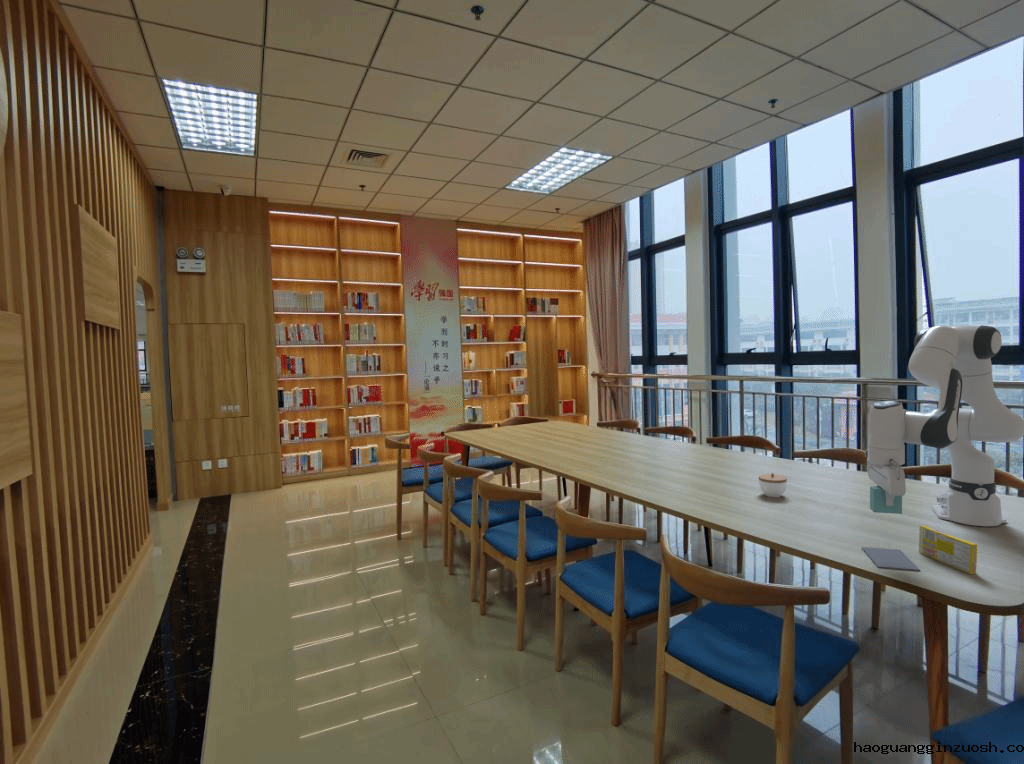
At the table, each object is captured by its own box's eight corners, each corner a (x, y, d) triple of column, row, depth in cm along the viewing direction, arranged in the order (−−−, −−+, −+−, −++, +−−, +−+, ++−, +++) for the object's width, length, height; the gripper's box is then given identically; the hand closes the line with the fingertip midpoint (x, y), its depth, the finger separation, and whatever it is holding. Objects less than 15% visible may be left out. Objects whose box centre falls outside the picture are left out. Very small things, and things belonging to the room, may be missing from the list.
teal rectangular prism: (869, 508, 157) (870, 485, 157) (897, 510, 155) (897, 487, 155) (873, 512, 154) (873, 488, 154) (901, 513, 152) (902, 490, 151)
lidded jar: (780, 491, 225) (780, 470, 224) (791, 498, 214) (791, 476, 214) (754, 492, 226) (754, 470, 225) (764, 499, 215) (764, 476, 215)
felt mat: (861, 548, 161) (861, 546, 161) (900, 551, 158) (900, 549, 158) (877, 567, 147) (877, 566, 147) (920, 571, 144) (920, 569, 144)
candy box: (977, 574, 141) (978, 544, 140) (970, 575, 141) (971, 544, 140) (924, 551, 157) (924, 524, 157) (917, 552, 157) (917, 525, 156)
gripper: (912, 464, 143) (912, 514, 143) (886, 450, 162) (886, 494, 163) (885, 463, 145) (885, 512, 146) (863, 449, 164) (863, 493, 165)
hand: (885, 502), depth 154 cm, fingers closed on teal rectangular prism, 3 cm apart
